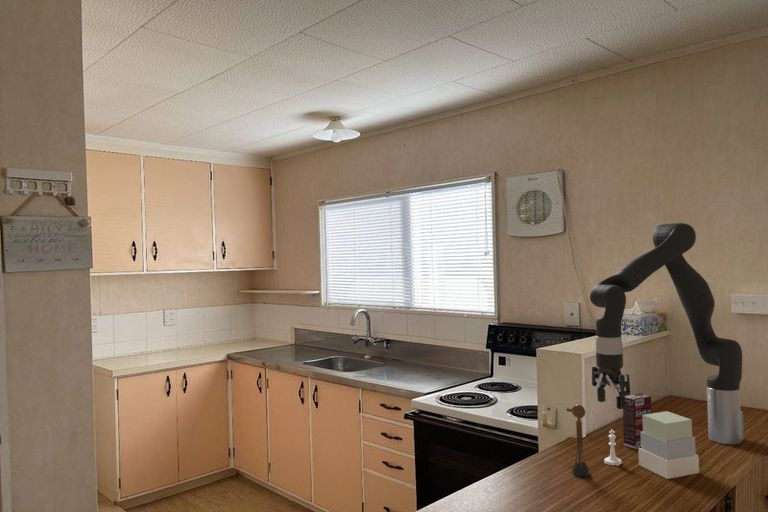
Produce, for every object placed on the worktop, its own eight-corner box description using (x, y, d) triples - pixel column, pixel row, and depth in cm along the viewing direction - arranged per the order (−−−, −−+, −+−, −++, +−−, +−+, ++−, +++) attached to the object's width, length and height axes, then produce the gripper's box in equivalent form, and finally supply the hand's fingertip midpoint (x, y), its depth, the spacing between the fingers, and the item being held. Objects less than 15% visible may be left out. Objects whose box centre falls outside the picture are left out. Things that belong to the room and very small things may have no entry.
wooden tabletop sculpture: (565, 472, 164) (563, 404, 164) (573, 468, 167) (571, 400, 167) (584, 478, 160) (582, 407, 160) (592, 473, 163) (590, 404, 163)
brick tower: (669, 459, 171) (667, 409, 171) (699, 472, 160) (697, 420, 160) (638, 464, 168) (637, 414, 168) (667, 478, 157) (665, 425, 157)
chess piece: (601, 460, 173) (600, 427, 173) (616, 458, 173) (615, 426, 173) (609, 466, 168) (607, 432, 168) (625, 464, 168) (623, 431, 168)
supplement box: (636, 449, 180) (634, 400, 180) (623, 445, 184) (621, 396, 184) (653, 444, 184) (652, 395, 184) (640, 440, 188) (638, 392, 188)
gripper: (636, 354, 164) (638, 409, 164) (604, 346, 178) (605, 398, 178) (614, 356, 162) (616, 412, 162) (583, 348, 176) (585, 400, 176)
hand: (610, 405), depth 170 cm, fingers open, 8 cm apart
